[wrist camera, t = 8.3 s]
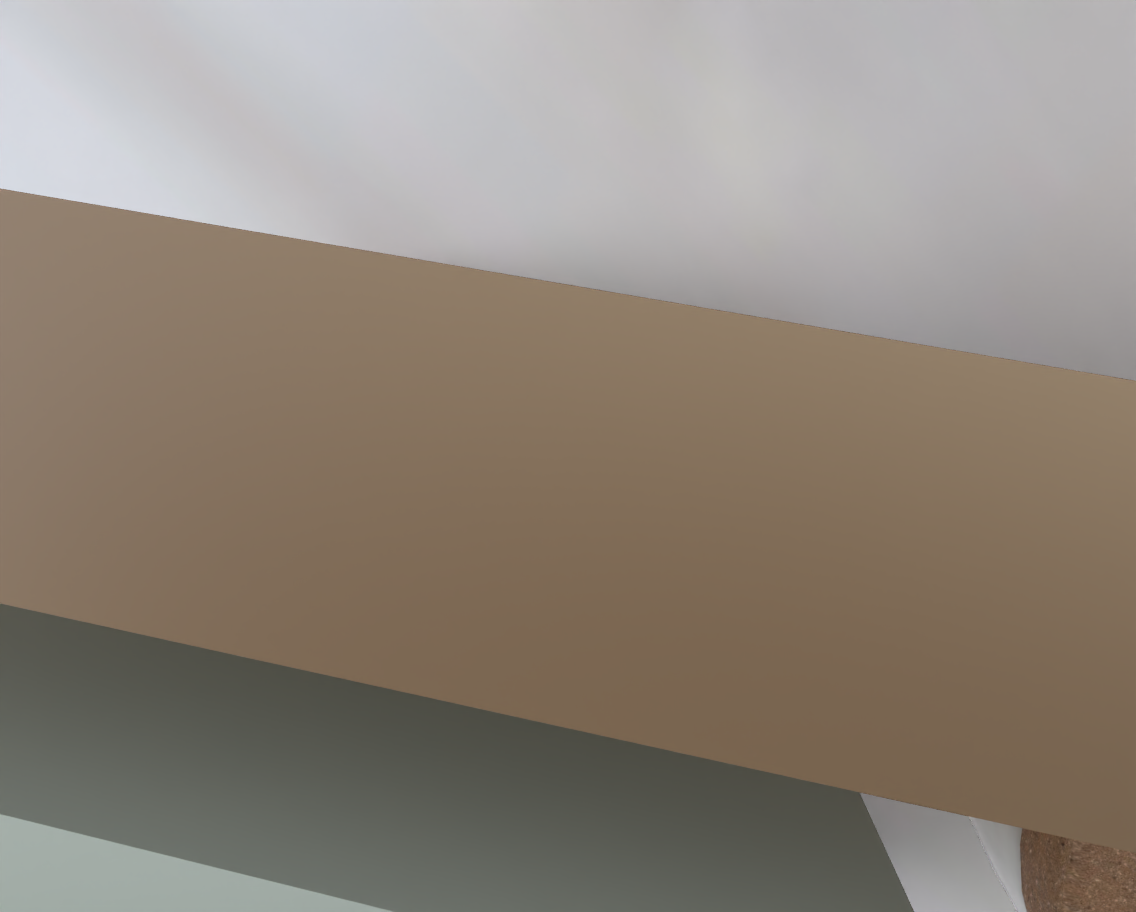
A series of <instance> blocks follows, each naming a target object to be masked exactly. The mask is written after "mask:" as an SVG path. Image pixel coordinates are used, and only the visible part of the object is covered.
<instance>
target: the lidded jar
mask: <svg viewBox="0 0 1136 912" xmlns="http://www.w3.org/2000/svg"><path fill="white" fill-rule="evenodd" d="M969 818H970V820H971V822H972V825H973V827H974V829H975V831H976V833H977V835H978V838H979V840H980V842H981V844H982V846H983V848H984V851H985V853H986V855H987V857H988V859H989V861H990V864H991V866H992V868H993V870H994V872H995V874H996V876H997V877H998V879H999V881H1000V883H1001V884H1002V886H1003V888H1004V889H1005V891H1006V893H1007V895H1008V896H1009V898H1010V900H1011V901H1012V903H1013V905H1014V907H1015V908H1016V910H1017V912H1136V853H1133V852H1129V851H1124V850H1119V849H1115V848H1110V847H1106V846H1101V845H1097V844H1092V843H1088V842H1083V841H1078V840H1074V839H1069V838H1065V837H1060V836H1056V835H1051V834H1047V833H1042V832H1038V831H1033V830H1028V829H1024V828H1019V827H1015V826H1010V825H1006V824H1001V823H997V822H992V821H987V820H983V819H978V818H974V817H969Z"/></svg>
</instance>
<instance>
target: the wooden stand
mask: <svg viewBox="0 0 1136 912" xmlns="http://www.w3.org/2000/svg"><path fill="white" fill-rule="evenodd" d="M0 604H5V605H9V606H14V607H19V608H23V609H28V610H32V611H37V612H41V613H46V614H50V615H55V616H59V617H64V618H69V619H73V620H78V621H82V622H87V623H91V624H96V625H100V626H105V627H110V628H114V629H119V630H123V631H128V632H132V633H137V634H141V635H146V636H150V637H155V638H160V639H164V640H169V641H173V642H178V643H182V644H187V645H191V646H196V647H201V648H205V649H210V650H214V651H219V652H223V653H228V654H232V655H237V656H241V657H246V658H251V659H255V660H260V661H264V662H269V663H273V664H278V665H282V666H287V667H291V668H296V669H301V670H305V671H310V672H314V673H319V674H323V675H328V676H332V677H337V678H342V679H346V680H351V681H355V682H360V683H364V684H369V685H373V686H378V687H382V688H387V689H392V690H396V691H401V692H405V693H410V694H414V695H419V696H423V697H428V698H433V699H437V700H442V701H446V702H451V703H455V704H460V705H464V706H469V707H473V708H478V709H483V710H487V711H492V712H496V713H501V714H505V715H510V716H514V717H519V718H523V719H528V720H533V721H537V722H542V723H546V724H551V725H555V726H560V727H564V728H569V729H574V730H578V731H583V732H587V733H592V734H596V735H601V736H605V737H610V738H614V739H619V740H624V741H628V742H633V743H637V744H642V745H646V746H651V747H655V748H660V749H665V750H669V751H674V752H678V753H683V754H687V755H692V756H696V757H701V758H705V759H710V760H715V761H719V762H724V763H728V764H733V765H737V766H742V767H746V768H751V769H755V770H760V771H765V772H769V773H774V774H778V775H783V776H787V777H792V778H796V779H801V780H806V781H810V782H815V783H819V784H824V785H828V786H833V787H837V788H842V789H846V790H851V791H856V792H860V793H865V794H869V795H874V796H878V797H883V798H887V799H892V800H897V801H901V802H906V803H910V804H915V805H919V806H924V807H928V808H933V809H937V810H942V811H947V812H951V813H956V814H960V815H965V816H969V817H974V818H978V819H983V820H987V821H992V822H997V823H1001V824H1006V825H1010V826H1015V827H1019V828H1024V829H1028V830H1033V831H1038V832H1042V833H1047V834H1051V835H1056V836H1060V837H1065V838H1069V839H1074V840H1078V841H1083V842H1088V843H1092V844H1097V845H1101V846H1106V847H1110V848H1115V849H1119V850H1124V851H1129V852H1133V853H1136V381H1134V380H1128V379H1122V378H1116V377H1110V376H1104V375H1098V374H1092V373H1086V372H1080V371H1075V370H1069V369H1063V368H1057V367H1051V366H1045V365H1039V364H1033V363H1027V362H1021V361H1015V360H1010V359H1004V358H998V357H992V356H986V355H980V354H974V353H968V352H962V351H956V350H950V349H945V348H939V347H933V346H927V345H921V344H915V343H909V342H903V341H897V340H891V339H886V338H880V337H874V336H868V335H862V334H856V333H850V332H844V331H838V330H832V329H826V328H821V327H815V326H809V325H803V324H797V323H791V322H785V321H779V320H773V319H767V318H761V317H756V316H750V315H744V314H738V313H732V312H726V311H720V310H714V309H708V308H702V307H696V306H691V305H685V304H679V303H673V302H667V301H661V300H655V299H649V298H643V297H637V296H632V295H626V294H620V293H614V292H608V291H602V290H596V289H590V288H584V287H578V286H572V285H567V284H561V283H555V282H549V281H543V280H537V279H531V278H525V277H519V276H513V275H507V274H502V273H496V272H490V271H484V270H478V269H472V268H466V267H460V266H454V265H448V264H442V263H437V262H431V261H425V260H419V259H413V258H407V257H401V256H395V255H389V254H383V253H378V252H372V251H366V250H360V249H354V248H348V247H342V246H336V245H330V244H324V243H318V242H313V241H307V240H301V239H295V238H289V237H283V236H277V235H271V234H265V233H259V232H253V231H248V230H242V229H236V228H230V227H224V226H218V225H212V224H206V223H200V222H194V221H189V220H183V219H177V218H171V217H165V216H159V215H153V214H147V213H141V212H135V211H129V210H124V209H118V208H112V207H106V206H100V205H94V204H88V203H82V202H76V201H70V200H64V199H59V198H53V197H47V196H41V195H35V194H29V193H23V192H17V191H11V190H5V189H0Z"/></svg>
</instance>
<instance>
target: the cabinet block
mask: <svg viewBox="0 0 1136 912" xmlns="http://www.w3.org/2000/svg"><path fill="white" fill-rule="evenodd" d="M0 912H914V911H913V908H912V906H911V904H910V902H909V900H908V898H907V895H906V893H905V891H904V889H903V887H902V884H901V882H900V880H899V878H898V876H897V874H896V871H895V869H894V867H893V865H892V863H891V861H890V858H889V856H888V854H887V852H886V850H885V848H884V845H883V843H882V841H881V839H880V837H879V834H878V832H877V830H876V828H875V826H874V824H873V821H872V819H871V817H870V815H869V813H868V811H867V808H866V806H865V804H864V802H863V800H862V798H861V795H860V793H859V792H856V791H851V790H846V789H842V788H837V787H833V786H828V785H824V784H819V783H815V782H810V781H806V780H801V779H796V778H792V777H787V776H783V775H778V774H774V773H769V772H765V771H760V770H755V769H751V768H746V767H742V766H737V765H733V764H728V763H724V762H719V761H715V760H710V759H705V758H701V757H696V756H692V755H687V754H683V753H678V752H674V751H669V750H665V749H660V748H655V747H651V746H646V745H642V744H637V743H633V742H628V741H624V740H619V739H614V738H610V737H605V736H601V735H596V734H592V733H587V732H583V731H578V730H574V729H569V728H564V727H560V726H555V725H551V724H546V723H542V722H537V721H533V720H528V719H523V718H519V717H514V716H510V715H505V714H501V713H496V712H492V711H487V710H483V709H478V708H473V707H469V706H464V705H460V704H455V703H451V702H446V701H442V700H437V699H433V698H428V697H423V696H419V695H414V694H410V693H405V692H401V691H396V690H392V689H387V688H382V687H378V686H373V685H369V684H364V683H360V682H355V681H351V680H346V679H342V678H337V677H332V676H328V675H323V674H319V673H314V672H310V671H305V670H301V669H296V668H291V667H287V666H282V665H278V664H273V663H269V662H264V661H260V660H255V659H251V658H246V657H241V656H237V655H232V654H228V653H223V652H219V651H214V650H210V649H205V648H201V647H196V646H191V645H187V644H182V643H178V642H173V641H169V640H164V639H160V638H155V637H150V636H146V635H141V634H137V633H132V632H128V631H123V630H119V629H114V628H110V627H105V626H100V625H96V624H91V623H87V622H82V621H78V620H73V619H69V618H64V617H59V616H55V615H50V614H46V613H41V612H37V611H32V610H28V609H23V608H19V607H14V606H9V605H5V604H0Z"/></svg>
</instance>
